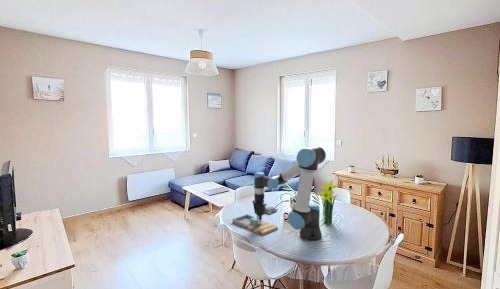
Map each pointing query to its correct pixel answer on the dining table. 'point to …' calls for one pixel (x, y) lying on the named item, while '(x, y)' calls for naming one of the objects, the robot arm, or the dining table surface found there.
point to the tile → (254, 221)
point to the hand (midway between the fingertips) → (259, 223)
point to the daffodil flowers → (328, 201)
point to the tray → (242, 220)
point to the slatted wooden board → (261, 228)
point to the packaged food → (270, 210)
